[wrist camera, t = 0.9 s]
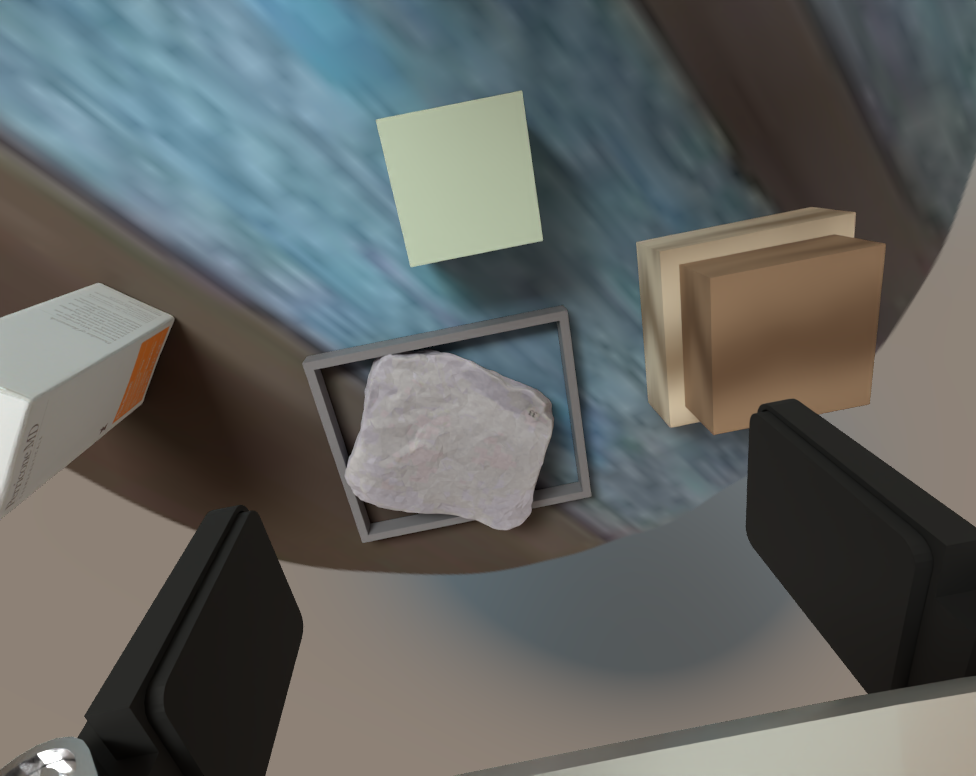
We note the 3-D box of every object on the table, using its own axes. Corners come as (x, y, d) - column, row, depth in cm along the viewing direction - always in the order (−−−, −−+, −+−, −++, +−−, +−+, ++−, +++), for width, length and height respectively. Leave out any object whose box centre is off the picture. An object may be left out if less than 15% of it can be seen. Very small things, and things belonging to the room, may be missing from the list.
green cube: (388, 127, 28) (375, 119, 22) (505, 104, 28) (522, 90, 22) (416, 247, 30) (410, 267, 25) (524, 225, 30) (543, 240, 25)
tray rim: (306, 356, 32) (302, 363, 31) (562, 305, 32) (567, 310, 31) (365, 531, 37) (362, 542, 36) (586, 486, 37) (591, 496, 36)
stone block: (375, 330, 34) (348, 480, 36) (363, 337, 30) (333, 510, 31) (558, 368, 36) (524, 511, 37) (575, 381, 31) (534, 544, 33)
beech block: (633, 241, 31) (659, 251, 28) (806, 206, 31) (855, 212, 28) (646, 399, 35) (670, 427, 31) (800, 368, 35) (842, 392, 31)
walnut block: (679, 264, 28) (710, 278, 25) (834, 234, 28) (885, 243, 25) (685, 406, 31) (713, 434, 28) (825, 378, 31) (869, 404, 28)
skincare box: (146, 404, 32) (-8, 532, 21) (68, 372, 31) (-137, 489, 20) (180, 314, 30) (32, 403, 19) (99, 277, 29) (-107, 348, 18)
